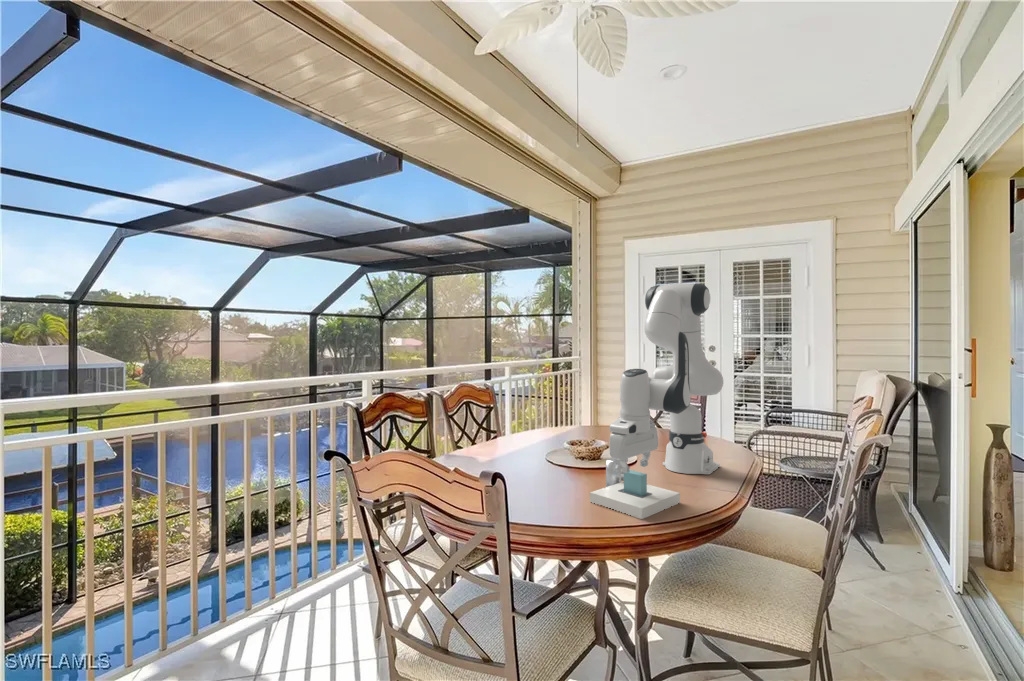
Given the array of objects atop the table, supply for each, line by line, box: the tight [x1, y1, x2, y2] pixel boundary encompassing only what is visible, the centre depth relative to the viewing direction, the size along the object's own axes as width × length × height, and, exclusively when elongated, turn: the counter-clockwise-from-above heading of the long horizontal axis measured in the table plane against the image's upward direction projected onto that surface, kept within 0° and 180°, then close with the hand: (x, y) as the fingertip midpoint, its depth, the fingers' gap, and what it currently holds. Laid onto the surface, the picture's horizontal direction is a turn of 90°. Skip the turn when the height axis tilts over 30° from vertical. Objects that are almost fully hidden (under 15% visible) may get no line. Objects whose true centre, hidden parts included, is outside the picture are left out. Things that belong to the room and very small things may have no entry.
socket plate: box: [589, 481, 681, 520], centre depth 144 cm, size 20×18×3 cm
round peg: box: [605, 458, 623, 487], centre depth 158 cm, size 5×5×9 cm
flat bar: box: [623, 469, 648, 496], centre depth 144 cm, size 3×6×9 cm, turn 42°
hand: (635, 469), depth 144 cm, fingers open, 8 cm apart
